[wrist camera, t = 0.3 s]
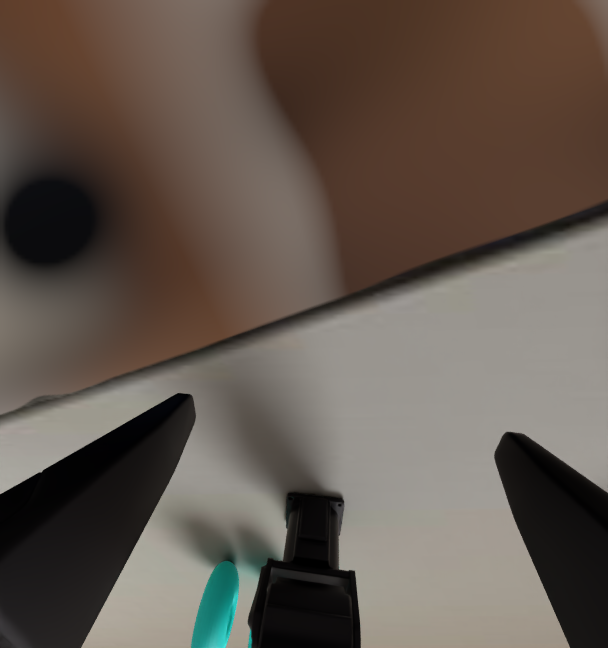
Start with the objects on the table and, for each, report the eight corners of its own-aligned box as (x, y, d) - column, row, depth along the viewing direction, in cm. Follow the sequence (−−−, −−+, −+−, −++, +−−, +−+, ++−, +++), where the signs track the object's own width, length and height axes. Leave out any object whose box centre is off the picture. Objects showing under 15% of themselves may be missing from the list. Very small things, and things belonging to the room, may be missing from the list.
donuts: (286, 592, 42) (272, 700, 34) (221, 580, 43) (190, 683, 34) (289, 556, 38) (275, 668, 29) (217, 543, 39) (181, 650, 30)
